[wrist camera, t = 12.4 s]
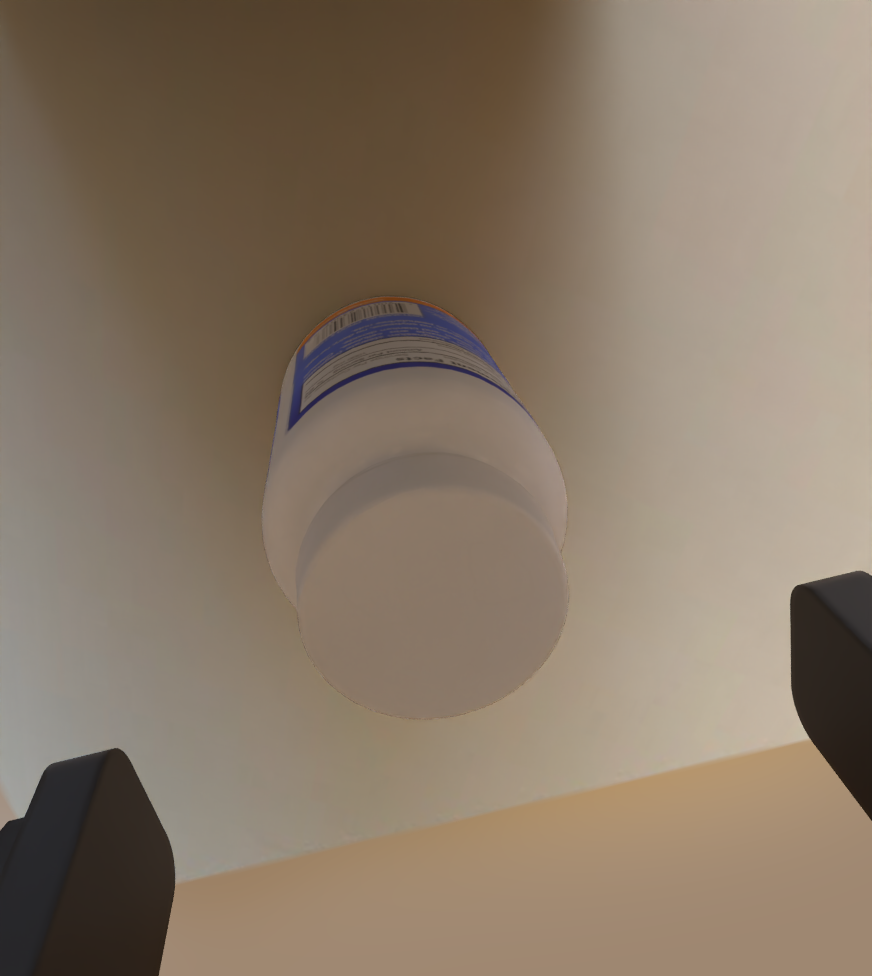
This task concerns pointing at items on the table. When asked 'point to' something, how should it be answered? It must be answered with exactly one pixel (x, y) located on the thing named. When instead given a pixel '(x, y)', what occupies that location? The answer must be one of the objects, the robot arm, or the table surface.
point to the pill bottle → (414, 513)
